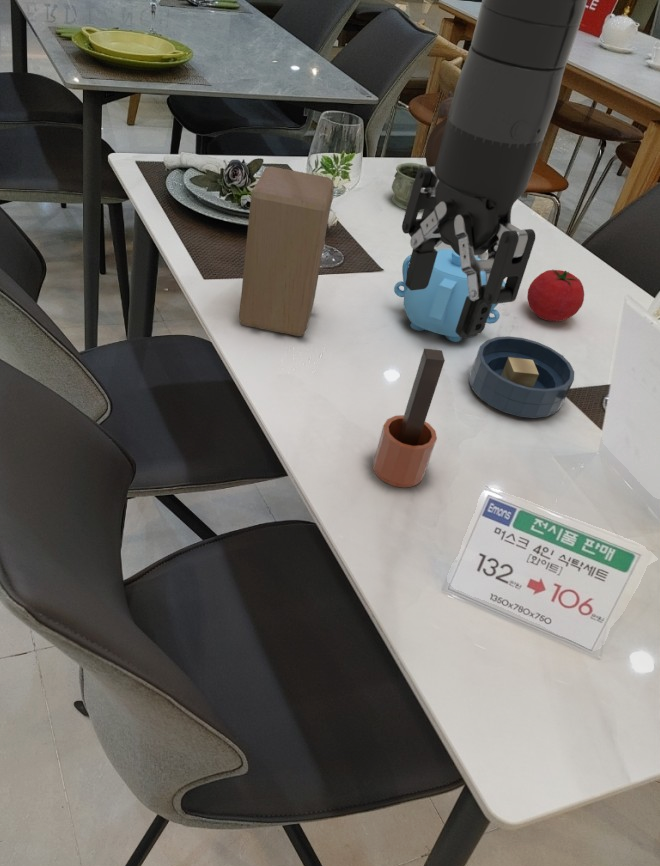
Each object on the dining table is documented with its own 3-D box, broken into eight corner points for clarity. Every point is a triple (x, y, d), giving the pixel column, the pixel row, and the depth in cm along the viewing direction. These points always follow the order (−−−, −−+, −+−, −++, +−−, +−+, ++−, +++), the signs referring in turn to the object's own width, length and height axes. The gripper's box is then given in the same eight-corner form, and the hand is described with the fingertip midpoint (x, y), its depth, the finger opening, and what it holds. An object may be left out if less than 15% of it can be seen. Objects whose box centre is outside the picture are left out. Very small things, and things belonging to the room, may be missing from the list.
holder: (419, 455, 95) (432, 417, 91) (426, 490, 91) (440, 451, 87) (370, 451, 95) (381, 412, 91) (375, 485, 90) (386, 446, 86)
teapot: (480, 368, 112) (507, 295, 104) (372, 335, 115) (390, 261, 107) (501, 309, 126) (527, 240, 117) (405, 281, 129) (423, 212, 121)
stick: (406, 462, 93) (442, 350, 82) (408, 473, 92) (445, 360, 81) (390, 461, 93) (424, 348, 82) (391, 471, 92) (426, 358, 81)
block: (523, 381, 110) (532, 359, 107) (529, 395, 107) (539, 374, 105) (499, 378, 109) (508, 356, 107) (505, 393, 107) (513, 371, 104)
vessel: (389, 188, 157) (396, 156, 153) (431, 195, 157) (439, 164, 153) (388, 211, 149) (395, 178, 144) (433, 219, 149) (442, 186, 144)
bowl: (547, 371, 114) (559, 341, 110) (571, 425, 104) (586, 395, 101) (460, 361, 113) (471, 331, 109) (477, 416, 103) (489, 385, 100)
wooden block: (313, 307, 119) (336, 176, 105) (303, 340, 111) (327, 204, 98) (250, 294, 119) (264, 162, 105) (236, 326, 112) (250, 189, 98)
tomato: (572, 335, 122) (593, 290, 117) (518, 320, 124) (536, 275, 118) (574, 311, 129) (594, 266, 123) (523, 297, 130) (540, 252, 124)
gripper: (595, 155, 56) (519, 347, 67) (483, 90, 65) (432, 270, 76) (514, 159, 53) (449, 358, 64) (408, 91, 62) (367, 277, 73)
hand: (440, 310), depth 70 cm, fingers open, 8 cm apart
